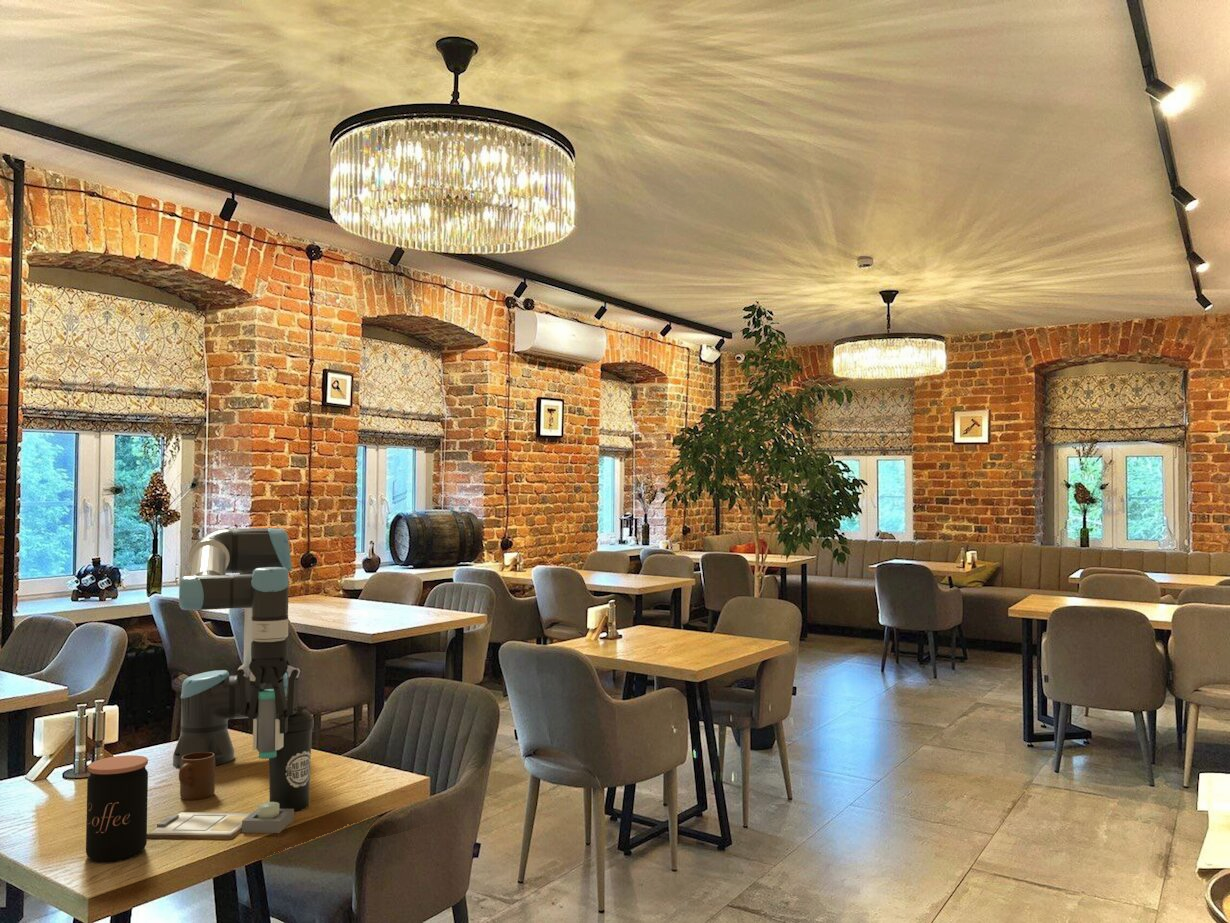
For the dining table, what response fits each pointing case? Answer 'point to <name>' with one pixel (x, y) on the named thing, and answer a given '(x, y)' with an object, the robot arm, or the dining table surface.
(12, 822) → the dining table surface
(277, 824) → the button housing
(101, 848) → the coffee jar
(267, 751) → the marker
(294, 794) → the water bottle
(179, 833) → the board
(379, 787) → the dining table surface
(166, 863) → the dining table surface
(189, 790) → the mug
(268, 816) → the button
